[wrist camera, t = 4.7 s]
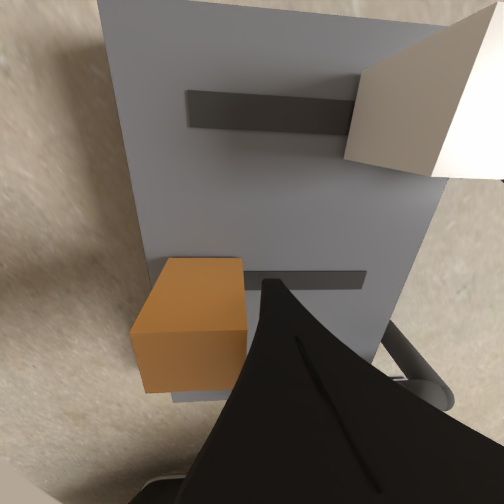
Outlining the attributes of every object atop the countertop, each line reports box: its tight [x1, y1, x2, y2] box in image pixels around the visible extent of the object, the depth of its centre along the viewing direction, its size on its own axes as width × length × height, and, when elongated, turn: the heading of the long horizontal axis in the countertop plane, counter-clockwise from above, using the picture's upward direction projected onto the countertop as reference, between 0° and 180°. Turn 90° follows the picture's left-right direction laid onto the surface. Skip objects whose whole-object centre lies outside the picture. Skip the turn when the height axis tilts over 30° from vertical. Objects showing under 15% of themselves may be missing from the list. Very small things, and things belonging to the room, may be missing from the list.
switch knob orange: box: [129, 258, 248, 393], centre depth 8 cm, size 2×3×4 cm
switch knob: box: [344, 2, 504, 179], centre depth 6 cm, size 2×3×4 cm
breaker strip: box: [97, 0, 449, 403], centre depth 12 cm, size 18×12×3 cm, turn 177°
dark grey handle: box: [381, 179, 504, 411], centre depth 11 cm, size 12×3×6 cm, turn 177°
